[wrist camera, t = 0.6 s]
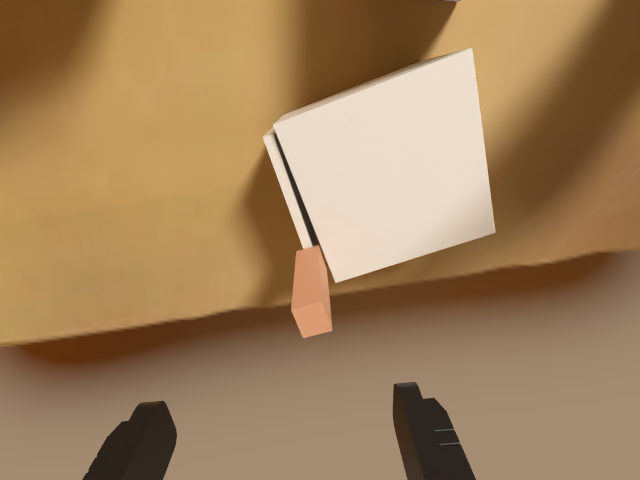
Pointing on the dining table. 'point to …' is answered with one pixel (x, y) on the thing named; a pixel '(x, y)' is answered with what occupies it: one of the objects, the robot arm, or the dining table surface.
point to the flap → (303, 252)
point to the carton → (393, 165)
